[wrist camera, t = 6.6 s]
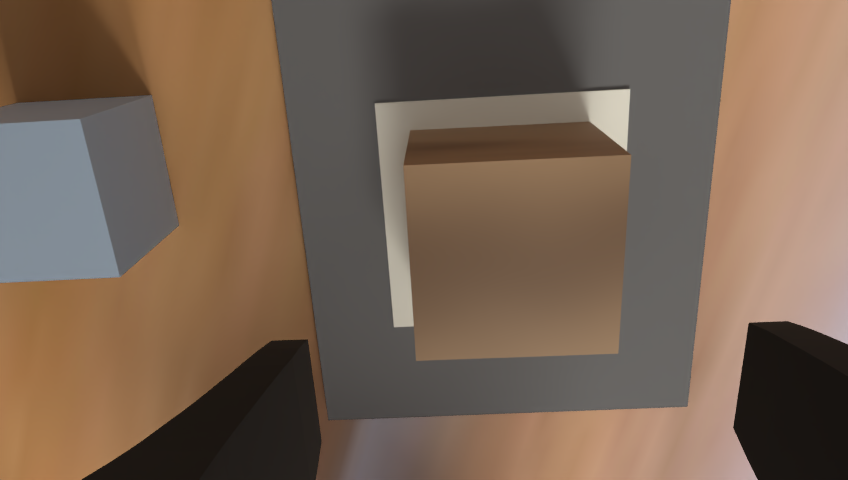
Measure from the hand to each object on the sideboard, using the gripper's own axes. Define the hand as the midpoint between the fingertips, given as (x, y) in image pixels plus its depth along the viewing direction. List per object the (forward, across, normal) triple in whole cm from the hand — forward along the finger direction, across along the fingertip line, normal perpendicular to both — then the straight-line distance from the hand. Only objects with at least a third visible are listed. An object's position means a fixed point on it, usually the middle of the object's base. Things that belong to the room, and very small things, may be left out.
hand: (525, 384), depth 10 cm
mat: (+9, 0, 0) cm, 9 cm away
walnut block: (+9, 0, 0) cm, 9 cm away
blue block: (+10, +12, -2) cm, 15 cm away
